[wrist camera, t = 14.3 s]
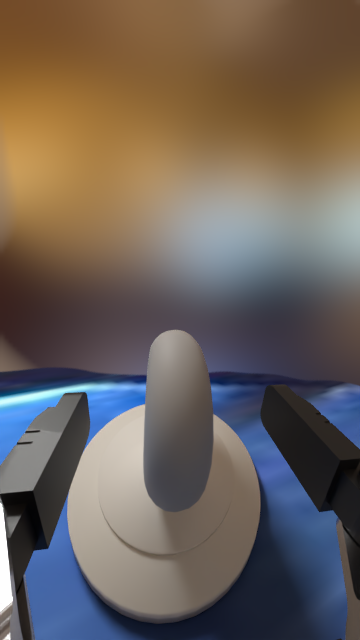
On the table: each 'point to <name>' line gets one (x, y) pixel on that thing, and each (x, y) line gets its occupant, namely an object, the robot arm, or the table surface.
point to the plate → (160, 526)
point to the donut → (177, 422)
